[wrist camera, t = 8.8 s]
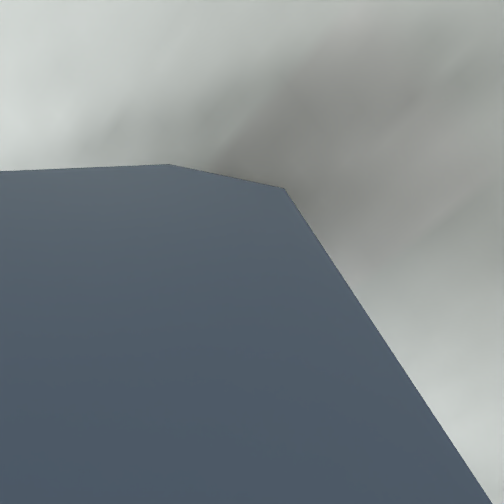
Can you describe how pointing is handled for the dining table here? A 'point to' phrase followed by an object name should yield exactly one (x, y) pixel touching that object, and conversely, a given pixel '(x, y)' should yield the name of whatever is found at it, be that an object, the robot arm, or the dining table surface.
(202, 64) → the dining table surface
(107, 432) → the book
